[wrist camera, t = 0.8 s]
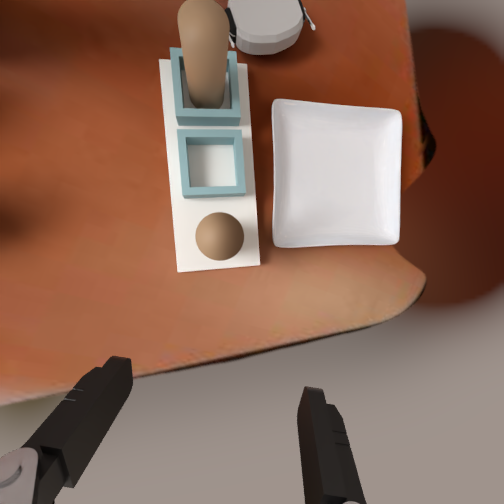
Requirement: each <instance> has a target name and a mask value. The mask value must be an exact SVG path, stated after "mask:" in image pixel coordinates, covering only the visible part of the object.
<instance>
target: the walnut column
mask: <svg viewBox="0 0 504 504" xmlns="http://www.w3.org/2000/svg"><path fill="white" fill-rule="evenodd" d="M195 239H196V244H197V246H198V248H199V250H200V251H201V252H202V253H203V254H204V255H205V256H206V257H208V258H210V259H212V260H217V261H223V260H228V259H230V258H232V257H234V256H235V255H236V254H237V253H238V252H239V251H240V250H241V248H242V246H243V242H244V231H243V228H242V226H241V224H240V222H239V221H238V220H237V219H236V218H235V217H234V216H232V215H230V214H228V213H223V212H216V213H212V214H209V215H207V216H206V217H204V218H203V219H202V220H201V221H200V223H199V224H198V226H197V229H196V234H195Z"/></svg>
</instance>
